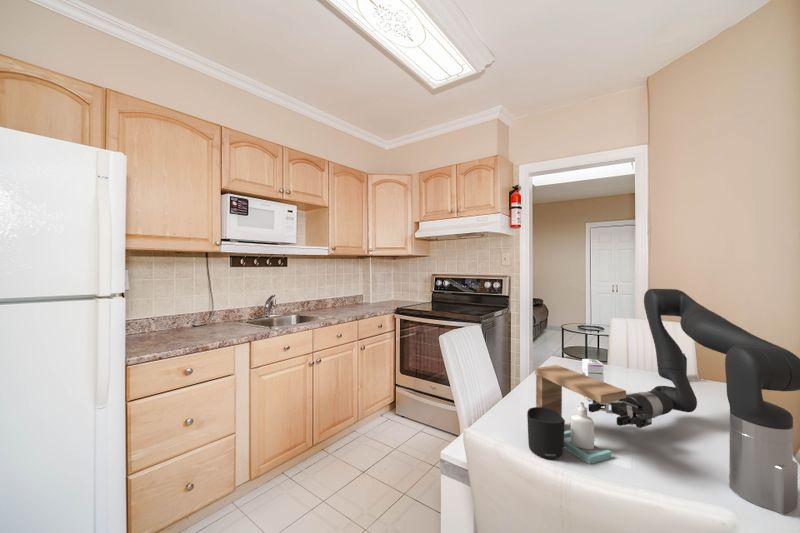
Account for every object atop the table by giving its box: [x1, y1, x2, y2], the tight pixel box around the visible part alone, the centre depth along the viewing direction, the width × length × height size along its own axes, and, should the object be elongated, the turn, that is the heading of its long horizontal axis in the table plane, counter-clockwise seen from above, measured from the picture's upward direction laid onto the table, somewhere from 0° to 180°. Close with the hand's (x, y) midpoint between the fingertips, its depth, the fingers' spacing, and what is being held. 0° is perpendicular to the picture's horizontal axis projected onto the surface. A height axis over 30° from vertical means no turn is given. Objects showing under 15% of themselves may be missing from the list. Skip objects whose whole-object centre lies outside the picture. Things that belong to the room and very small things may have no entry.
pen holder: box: [526, 406, 566, 461], centre depth 87 cm, size 9×9×10 cm
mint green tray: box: [563, 429, 613, 465], centre depth 88 cm, size 12×8×2 cm, turn 20°
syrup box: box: [581, 358, 605, 402], centre depth 121 cm, size 6×6×14 cm
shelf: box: [534, 364, 627, 418], centre depth 90 cm, size 22×9×19 cm, turn 20°
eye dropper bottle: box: [570, 402, 595, 449], centre depth 88 cm, size 4×6×12 cm
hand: (603, 414), depth 91 cm, fingers open, 8 cm apart
